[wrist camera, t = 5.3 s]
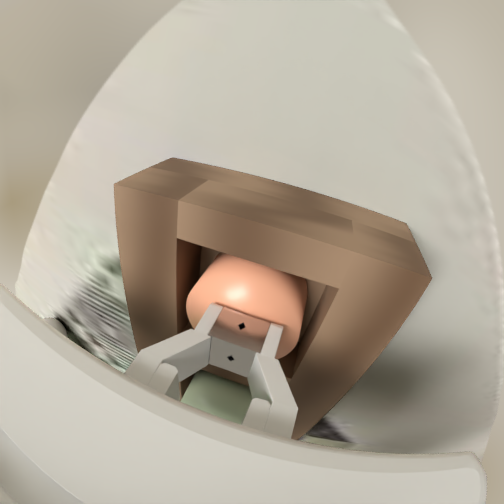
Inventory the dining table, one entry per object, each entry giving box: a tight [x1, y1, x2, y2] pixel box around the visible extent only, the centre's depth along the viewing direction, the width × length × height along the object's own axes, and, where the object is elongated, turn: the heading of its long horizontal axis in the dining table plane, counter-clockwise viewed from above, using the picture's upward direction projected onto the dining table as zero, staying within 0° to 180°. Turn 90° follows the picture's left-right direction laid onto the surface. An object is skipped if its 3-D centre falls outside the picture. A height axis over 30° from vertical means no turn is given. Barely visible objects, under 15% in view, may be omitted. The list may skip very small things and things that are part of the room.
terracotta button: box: [186, 252, 308, 359], centre depth 12 cm, size 5×5×2 cm
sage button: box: [180, 369, 252, 425], centre depth 15 cm, size 5×5×2 cm
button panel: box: [114, 158, 432, 440], centre depth 17 cm, size 12×25×4 cm, turn 170°
